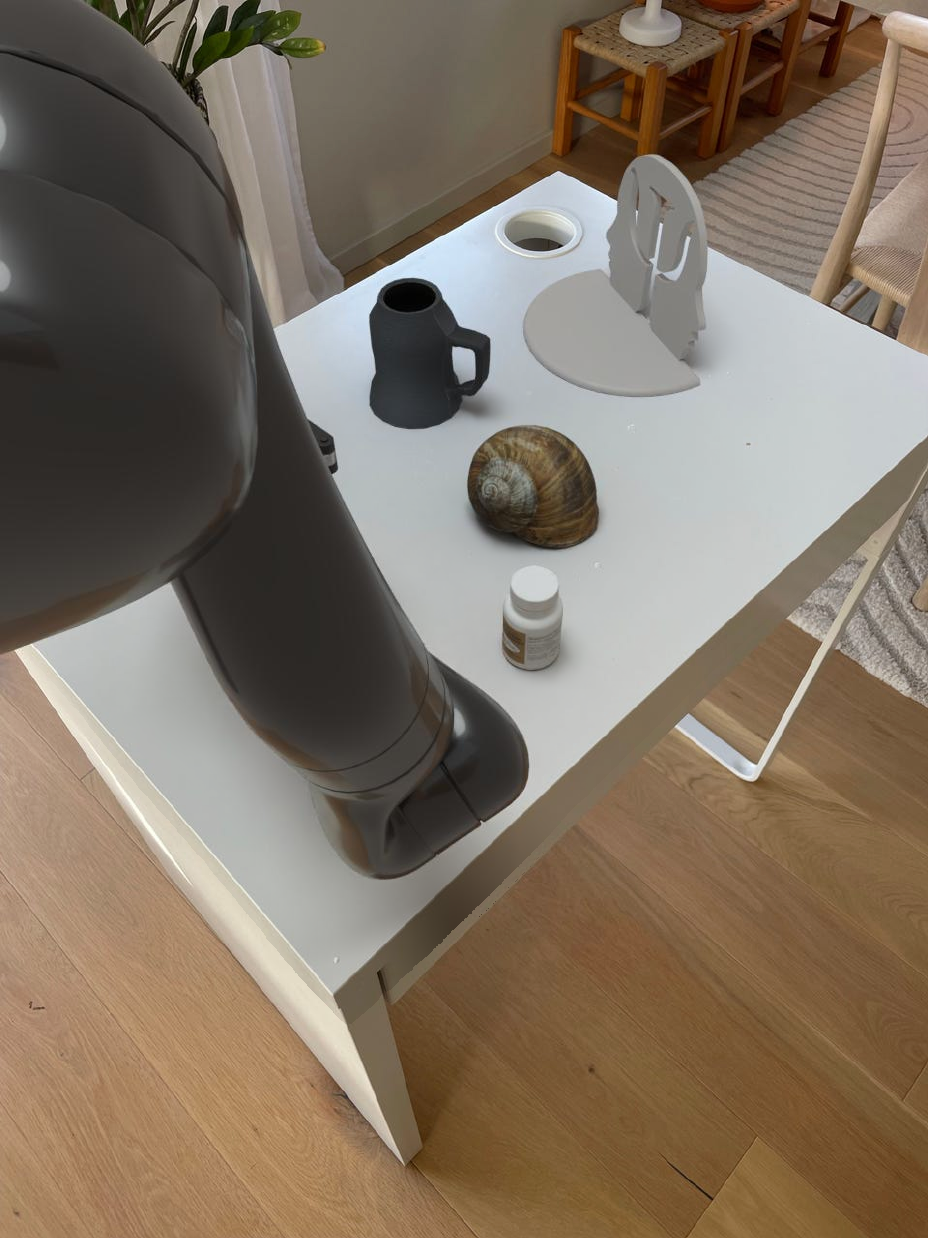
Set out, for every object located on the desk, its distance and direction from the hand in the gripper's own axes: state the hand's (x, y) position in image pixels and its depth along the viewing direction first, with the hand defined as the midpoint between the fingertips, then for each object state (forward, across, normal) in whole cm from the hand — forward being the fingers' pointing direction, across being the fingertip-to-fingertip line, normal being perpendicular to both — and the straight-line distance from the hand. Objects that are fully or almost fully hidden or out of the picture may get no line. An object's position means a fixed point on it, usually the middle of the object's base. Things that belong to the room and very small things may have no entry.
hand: (184, 405), depth 65 cm
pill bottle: (-18, -17, +18) cm, 31 cm away
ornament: (+12, -44, +18) cm, 49 cm away
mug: (+12, -24, +18) cm, 32 cm away
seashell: (-6, -25, +18) cm, 31 cm away
